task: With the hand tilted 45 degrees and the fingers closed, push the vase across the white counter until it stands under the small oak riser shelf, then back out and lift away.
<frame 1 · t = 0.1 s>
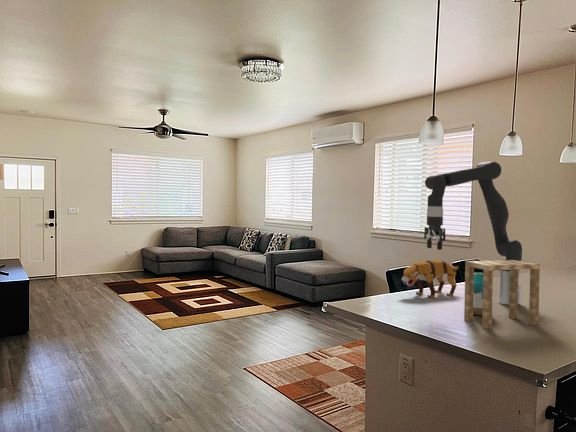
hand: (434, 248, 213), 29 cm above the countertop, tool pointing down, fingers open, 8 cm apart
toy: (431, 295, 245), on the countertop
vase: (478, 315, 201), on the countertop
riser shelf: (500, 322, 188), on the countertop
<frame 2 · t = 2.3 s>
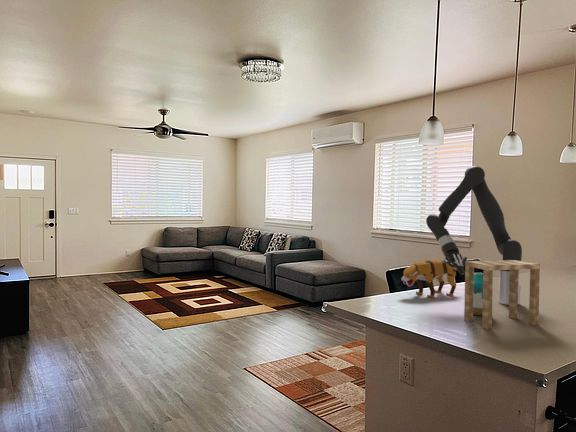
hand: (463, 273, 212), 17 cm above the countertop, tool tilted 45°, fingers closed
nothing on the countertop moved.
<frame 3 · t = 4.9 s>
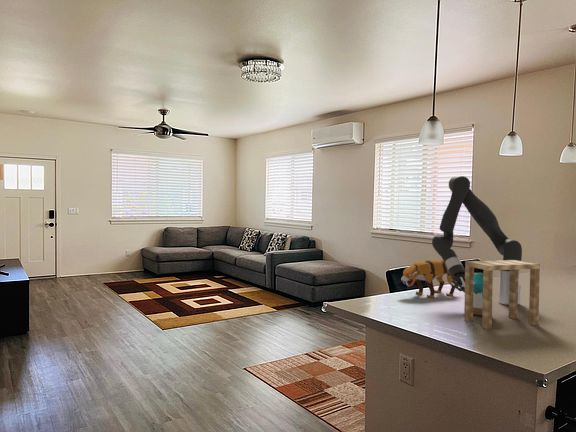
hand: (470, 297, 206), 7 cm above the countertop, tool tilted 45°, fingers closed
vase: (479, 315, 201), on the countertop, touching gripper
everything else where it was.
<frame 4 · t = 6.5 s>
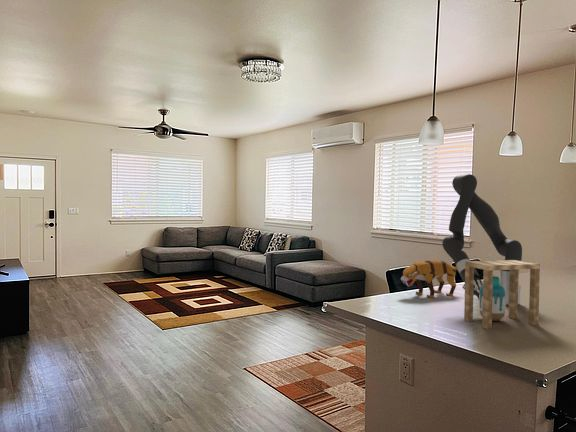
hand: (483, 301, 197), 7 cm above the countertop, tool tilted 45°, fingers closed
vase: (491, 320, 192), on the countertop, touching gripper
everything else where it was.
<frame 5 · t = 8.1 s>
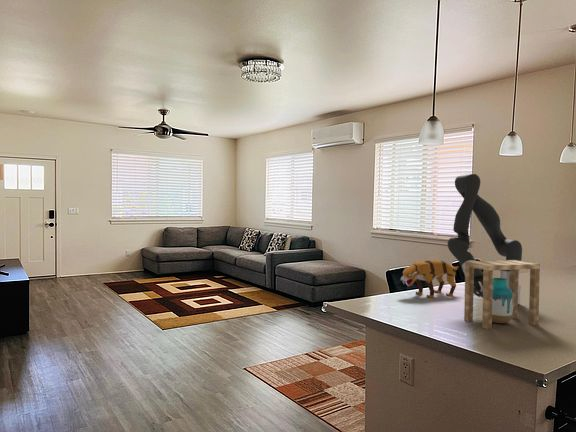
hand: (490, 303, 193), 7 cm above the countertop, tool tilted 45°, fingers closed
vase: (498, 323, 188), on the countertop, touching gripper
everything else where it was.
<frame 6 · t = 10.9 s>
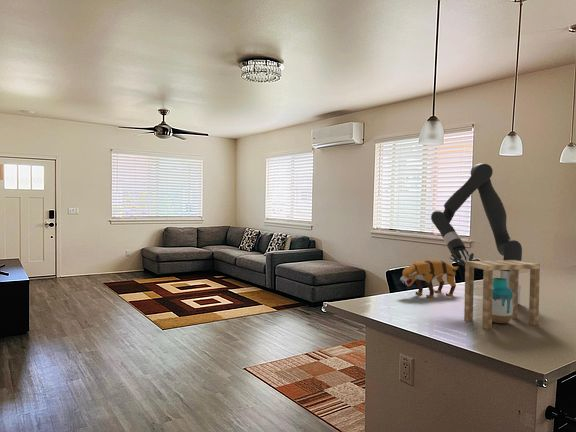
hand: (470, 270, 207), 20 cm above the countertop, tool tilted 45°, fingers closed
vase: (498, 323, 188), on the countertop
everything else where it was.
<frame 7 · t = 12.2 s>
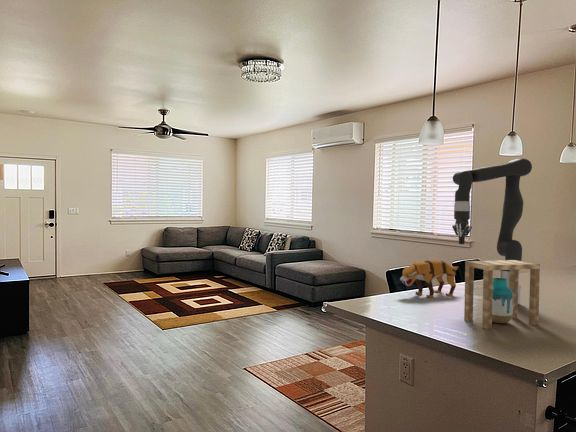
hand: (461, 244, 222), 31 cm above the countertop, tool pointing down, fingers closed
nothing on the countertop moved.
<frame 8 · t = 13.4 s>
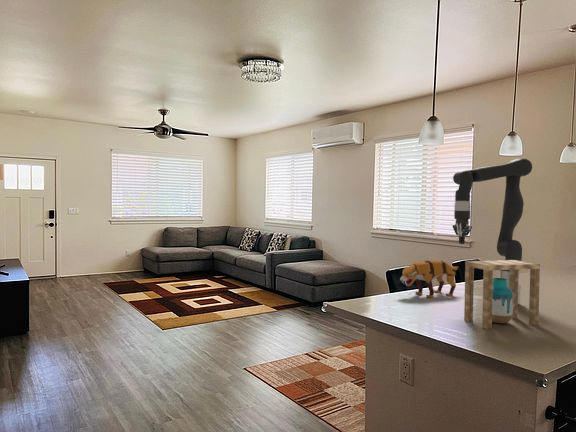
hand: (461, 243, 222), 31 cm above the countertop, tool pointing down, fingers closed
nothing on the countertop moved.
at the end: vase inside the target area on the riser shelf (1.0 cm from its centre), point 0.0 cm above the riser shelf's base; vase tilted 0° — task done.
